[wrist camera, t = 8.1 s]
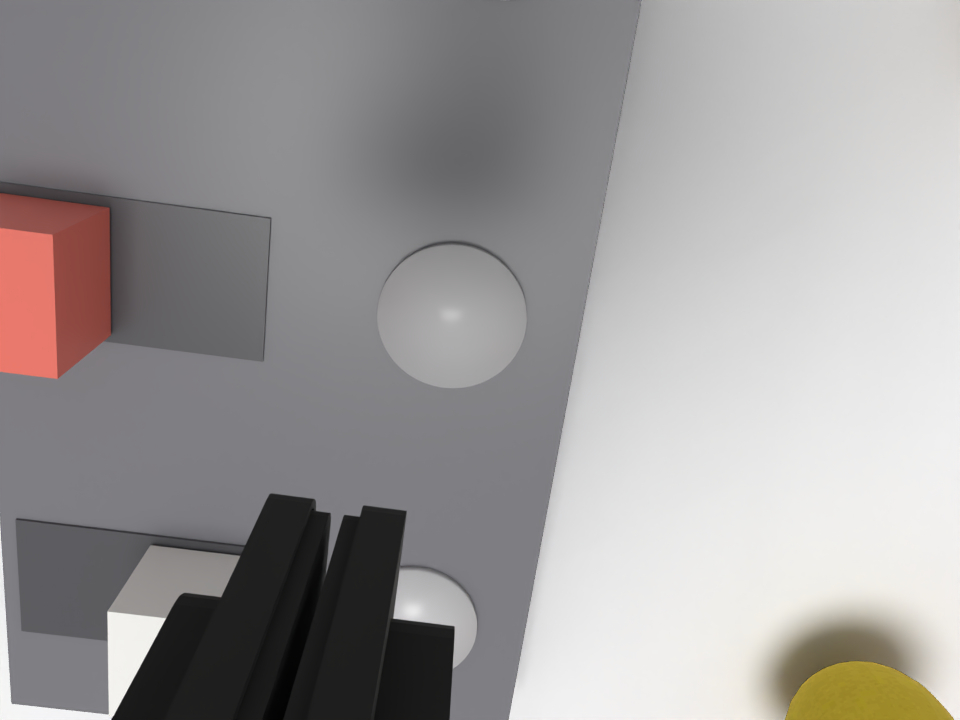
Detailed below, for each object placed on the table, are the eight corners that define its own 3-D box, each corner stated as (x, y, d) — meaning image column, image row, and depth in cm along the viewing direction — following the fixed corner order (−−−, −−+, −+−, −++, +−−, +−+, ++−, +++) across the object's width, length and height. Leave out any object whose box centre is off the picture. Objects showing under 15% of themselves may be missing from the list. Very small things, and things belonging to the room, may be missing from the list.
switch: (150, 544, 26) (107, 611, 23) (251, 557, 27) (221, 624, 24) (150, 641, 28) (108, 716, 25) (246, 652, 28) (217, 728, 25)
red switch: (-9, 191, 23) (-84, 216, 20) (109, 207, 23) (52, 234, 20) (-2, 321, 24) (-71, 362, 21) (110, 335, 24) (57, 378, 21)
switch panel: (22, -380, 22) (-69, -460, 18) (670, -276, 22) (705, -334, 19) (60, 634, 32) (6, 710, 28) (500, 684, 33) (501, 765, 29)
